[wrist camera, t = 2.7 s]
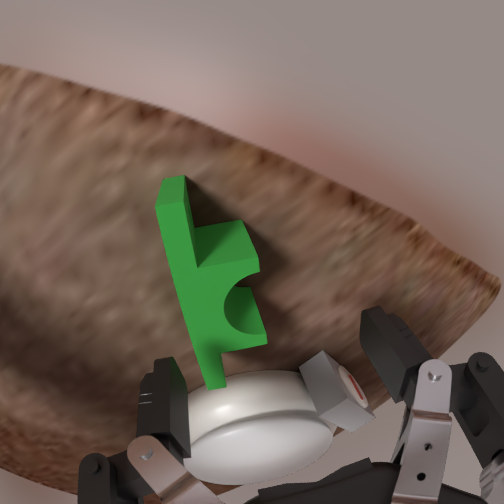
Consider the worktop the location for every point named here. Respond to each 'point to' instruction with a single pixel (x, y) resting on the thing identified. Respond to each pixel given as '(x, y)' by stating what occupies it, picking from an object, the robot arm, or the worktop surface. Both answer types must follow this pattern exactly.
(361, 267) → the worktop surface
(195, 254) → the pipe clamp
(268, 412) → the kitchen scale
